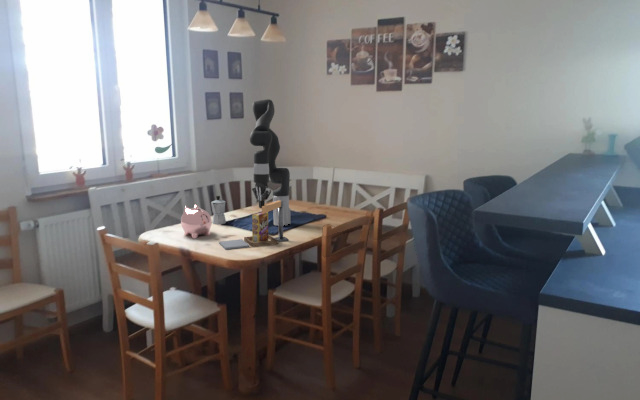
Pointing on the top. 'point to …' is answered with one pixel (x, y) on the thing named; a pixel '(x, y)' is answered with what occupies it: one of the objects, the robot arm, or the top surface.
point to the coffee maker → (218, 211)
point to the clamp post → (280, 226)
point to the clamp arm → (272, 206)
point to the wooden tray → (261, 243)
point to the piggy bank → (196, 221)
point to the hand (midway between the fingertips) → (261, 207)
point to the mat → (233, 244)
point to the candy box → (260, 227)
